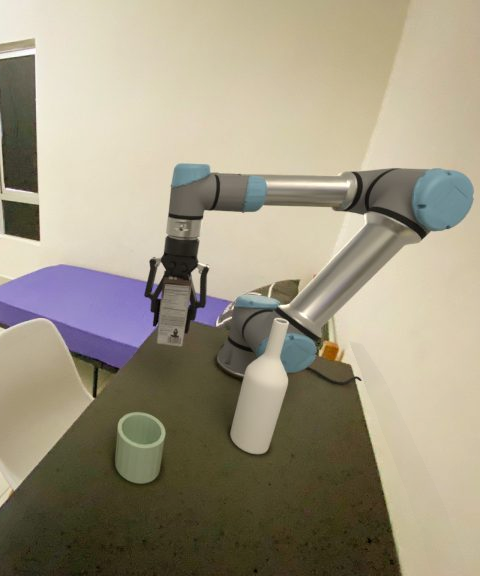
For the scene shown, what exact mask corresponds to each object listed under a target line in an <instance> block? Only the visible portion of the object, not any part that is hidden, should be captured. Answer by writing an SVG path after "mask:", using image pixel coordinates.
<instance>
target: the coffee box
mask: <svg viewBox="0 0 480 576" xmlns="http://www.w3.org/2000/svg"><path fill="white" fill-rule="evenodd" d="M165 272H166V270H164V271H163V275H164V274H165ZM191 286H192V283H191V280H190V281H186V280H184V278H180V277H178V276H169V277H164V280H163V287H162V291H161V296H160V299H161V303H160V312H159V320H158V324H157V325H158V326H157V337H156V344H158V345H167V346H175V347H180V348H181V347H183V346H184V339H185V338H184V337H185V333H184V332H185V326H186V319H187V312H188V307H189V305H190V300H189V299H190V293H191Z"/></svg>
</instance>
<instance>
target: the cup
mask: <svg viewBox="0 0 480 576" xmlns="http://www.w3.org/2000/svg"><path fill="white" fill-rule="evenodd" d="M116 430H117V431H116V442H115V452H114V453H115V454H114V466H115V468H116V469H115V470H117V473H119V475H120V476H121V477H122V478H124V479H125V480H127V481H129V482H130V483H134V484H139V485H141V484H147V483H150V482H153V481H154V480H155V479H156V478H157V477H158V476H159V475H160V471H161V467H162V462H163V461H162V459H163V456H164V455H163V454H164V448H165V441H166V428H165V426H164V424H163V423H162V422H161V421H160V420H159V419H158V417H155V416H154V415H152V414H150V413H147V412H141V411H134V412H129V413H126V414H124V415H123V416H122V417H120V419H119V421H118V423H117V429H116Z"/></svg>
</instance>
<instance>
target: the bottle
mask: <svg viewBox="0 0 480 576" xmlns="http://www.w3.org/2000/svg"><path fill="white" fill-rule="evenodd" d="M288 325H289V322H288V321H287V320H285V319H282V318H275V319H274V321H273V325H272V328H271V332H270V336H269V340H268V343H267V347H266V350H265V352H264V354H263V355H261V356H260V357H259V358H257V359H256V360H254V361H253V362H252V363H251V364H249V365H248V367H247V368H246V371H245V374H244V378H243V380H242V382H241V387H240V391H239V395H238V399H237V404H236V406H235V411H234V416H233V420H232V423H231V429H230V432H229V434H230V439H231V441H232V442H233V443H234V445H235V446H237V447H238V449H240V450H241V451H244V452H246V453H249V454H253V455H262V454H265V453H267V451H268V450H269V448H270V446H271V443H272V439H273V435H274V431H275V428H276V425H277V422H278V420H279V419H278V418H279V416H280V412H281V408H282V406H283V403H284V399H285V396H286V392H287V389H288V385H289V377H288V373H287V374H286V371H285V369H284V367H283V364H282V362H281V359H280V354H281V350H282V347H283V343H284V339H285V336H286V332H287V329H288Z"/></svg>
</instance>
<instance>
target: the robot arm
mask: <svg viewBox="0 0 480 576" xmlns="http://www.w3.org/2000/svg"><path fill="white" fill-rule="evenodd" d="M169 194H170V195H169V205H168V214H167V220H166V228H165V229H166V230H165V233H166V236H165V238H164V239H165V240H164V247H163V253H162V256H161V257H156V256H152V257H151V258H150V259H149V261H148V263H149V272H148V276H147V281H146V285H145V290H144V294H143V296H144V298H147V299H149V300H150V309H149V311H150V313H153V320H152V327H155V328H156V327H157V325H158V323H159V313H160V303H161V298H159V296H160V294H162V287H163V280H164V277H169V276H178V277H180V278H184V280H186V281H190V280H191V283H192V286H191V293H190V299H189V306H188V312H187V319H186V326H185V332H184V334H187V335H188V334H189V331H190V326H191V322H194V321H196V317H197V312H198V309H204V308H205V307H206V305H207V291H208V290H207V289H208V288H207V287H208V273H209V272H210V268H211V266H210V264H209V263H208V264H204V263H201V262H199V259H198V255H199V247H200V237H201V235H202V227H203V222H204V214H205V211H208V212H211V211H212V212H213V211H217V212H233V213H242V214H244V213H256V212H258V211H260V210H261V209H262V208H263V206H268V207H269V206H270V207H273V206H275V207H276V206H277V207H307V208H308V207H309V208H314V207H315V208H330V209H331V210H332V211H334V212H345V213H352V214H357V215H362V216H363V218H364V224H363V226H361V228H360V229H359V230H358V231H356V233H355V234H354V235H353V236H352V237H351V238H350V239H349V240H348V241H347V242H346V243H345V244H344V246H343V247H342V248H341V249H340V250H339V251H338V252H337V253H336V254H334V256H333V257H332V258H331V259H330V260H329V261H328V262H327V264H326V265H325V266H323V267H322V269H320V271H319V272H318V273H317V274H316V275H314V277H313V278H312V279H310V281H309V282H308V283H307V284H306V286H305V287H303V288H302V289H301V291H300V292H299V293H298V294H297V295H296V296H295V297H294V298H293V299H292V300H291V301H289V303H287V304H282V303H281V302H280V300H278V299H276V298H274V297H269V296H266V295H259V294H241V295H239V296H237V298H236V299H235V302H234V305H233V310H232V315H231V319H230V324H229V329H228V335H227V338H226V341H225V342H224V343H223V344H222V345H221V347H220V350H219V351H218V353H217V355H216V364H217V366H218V367H219V369H220V370H221V371H222V372H224V373H225V374H226V375H228V376H230V377H232V378H235V379H237V380H241V381H243V378H244V374H245V371H246V368H247V367H248V365H249V364H251V363H252V362H253V361H254V360H256V359H257V358H259V357H260V356H261V355H263V354H264V352H265V350H266V347H267V343H268V340H269V336H270V332H271V328H272V325H273V321H274V319H275V318H282V319H285V320H287V321H288V322H289V325H288V329H287V332H286V336H285V339H284V343H283V347H282V350H281V354H280V359H281V362H282V364H283V367H284V369H285V371H286V374H287V375H288V374H295V373H299V372H301V371H305V370H308V371H311V372H313V373H315V374H317V375H318V376H319V377H321V378H323V379H325V380H326V381H328V382H330V383H333V384H337V385H347V384H350V383H352V382H354V381H355V380H357V381H359V382H362V381H363V380H362V379H361V377H359V376H352V377H351V378H349V379H348V380H345V381H338V380H334V379H332V378H330V377H327V376H326V375H324V374H323V373H321V372H319V371H317V370H316V369H314V368H312V367H310V366H311V365H312V364H313V363H314V362H315V359H316V358H317V351H318V349H317V346H316V343H318V342H319V341H320V340H321V339H322V337H323V334H322V328H323V326H325V325H326V324H327V323H328V322H329V321H330V319H332V318H333V317H334V316H335V315H336V314H337V313H338V312H339V311H340V310H341V309H342V308H343V307H344V306H345V305H346V304H347V303H348V302H349V301H350V300H351V299H352V298H353V297H354V296H355V295H356V294H357V293H358V292H359V291H360V290H361V289H362V288H363V287H364V286H365V285H366V284H367V283H369V281H370V280H372V278H374V276H375V275H377V273H379V271H380V270H382V268H384V267H385V266H386V265H387V263H388V262H390V261H391V260H392V258H394V257H395V256H396V255H397V254H398V253H399V252H400V251H401V250H402V249H403V248H404V247H405V246H409V245H415V244H419V243H421V242H422V241H423V240H424V239H425V238H426V237H428V235H429V234H430V233H431V232H443V231H445V230H450V229H452V228H454V227H456V226H457V225H458V224H460V223H462V221H463V220H464V219H466V217H467V215H468V214H469V212H470V211H471V208H472V206H473V204H474V200H475V198H474V194H475V188H474V185H473V182H472V180H471V179H470V178H469V177H468V176H467V175H466V174H464V173H462V172H461V171H458V170H453V169H445V168H441V167H436V168H435V167H434V168H407V167H406V168H405V167H404V168H402V167H389V168H380V169H370V170H359V171H358V170H357V171H350V170H349V171H346V170H345V171H341V172H340V173H338V174H337V175H334V174H333V175H331V174H329V175H328V174H327V175H325V174H279V173H278V174H276V173H275V174H274V173H273V174H272V173H229V172H228V173H224V172H223V173H222V172H221V173H220V172H215V171H214V172H212V171H211V165H209V164H207V163H178V164H176V165H175V166H174V167H173V172H172V178H171V184H170V193H169ZM161 264H162V266H163V268H164V271H166V272H165V274H164V273H163V275H162V278H161V280H160V281H159V283H158V285H157V287H156V288H155V290H154V291H153V288H154V284H155V280H156V275H157V271H158V268H159V266H160V265H161ZM196 269H198V274H200V277H199V300H198V297H197V293H196V290H195V285H194V281H193V275H192V273H193V272H194V271H195V270H196Z"/></svg>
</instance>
